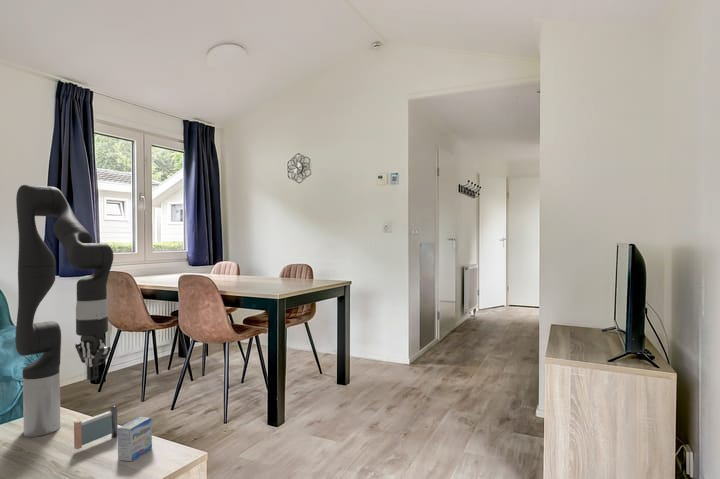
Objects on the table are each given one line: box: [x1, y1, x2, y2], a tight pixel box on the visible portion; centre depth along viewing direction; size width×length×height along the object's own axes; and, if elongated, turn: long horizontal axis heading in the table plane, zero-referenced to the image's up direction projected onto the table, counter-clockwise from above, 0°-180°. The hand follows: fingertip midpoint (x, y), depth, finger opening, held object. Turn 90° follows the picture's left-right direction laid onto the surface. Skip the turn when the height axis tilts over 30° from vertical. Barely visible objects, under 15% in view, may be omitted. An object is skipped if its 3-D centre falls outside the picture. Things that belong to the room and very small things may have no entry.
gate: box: [73, 410, 112, 450], centre depth 126 cm, size 10×1×7 cm, turn 151°
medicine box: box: [116, 416, 153, 462], centre depth 120 cm, size 8×4×9 cm, turn 165°
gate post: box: [110, 405, 119, 439], centre depth 131 cm, size 2×2×9 cm
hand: (93, 379), depth 120 cm, fingers closed
